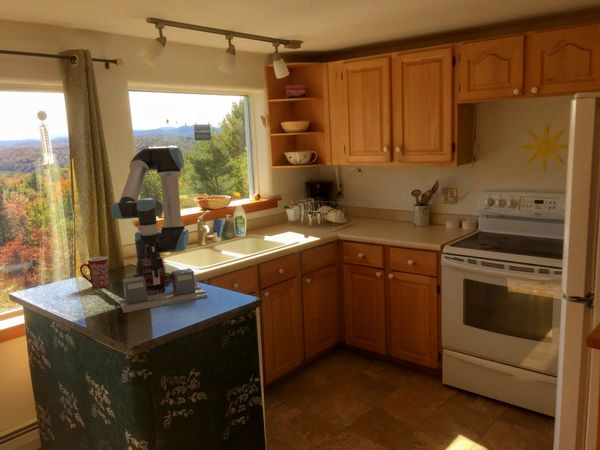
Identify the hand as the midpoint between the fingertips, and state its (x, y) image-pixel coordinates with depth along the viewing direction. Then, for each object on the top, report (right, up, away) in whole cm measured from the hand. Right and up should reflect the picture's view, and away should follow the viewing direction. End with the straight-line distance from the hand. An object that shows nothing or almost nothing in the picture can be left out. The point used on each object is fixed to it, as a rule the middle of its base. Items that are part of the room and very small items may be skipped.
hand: (154, 281), depth 223 cm
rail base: (+7, -7, -11) cm, 15 cm away
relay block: (+15, -4, +6) cm, 16 cm away
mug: (-33, -5, +18) cm, 38 cm away
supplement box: (0, -6, +1) cm, 6 cm away
